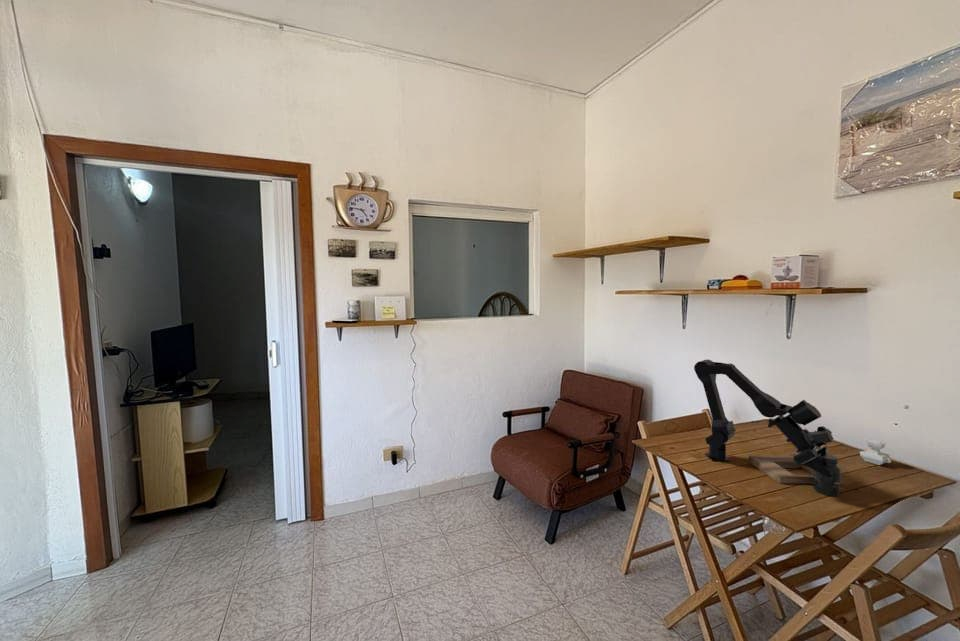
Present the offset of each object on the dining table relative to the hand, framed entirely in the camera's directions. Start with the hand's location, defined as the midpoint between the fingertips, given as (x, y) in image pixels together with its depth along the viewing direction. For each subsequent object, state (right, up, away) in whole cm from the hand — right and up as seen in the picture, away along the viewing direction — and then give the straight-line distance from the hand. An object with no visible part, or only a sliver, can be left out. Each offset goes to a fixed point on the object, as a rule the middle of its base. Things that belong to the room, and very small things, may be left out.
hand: (832, 473), depth 130 cm
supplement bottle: (-1, -7, +2) cm, 7 cm away
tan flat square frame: (-3, -5, +15) cm, 16 cm away
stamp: (+36, -5, +22) cm, 42 cm away
